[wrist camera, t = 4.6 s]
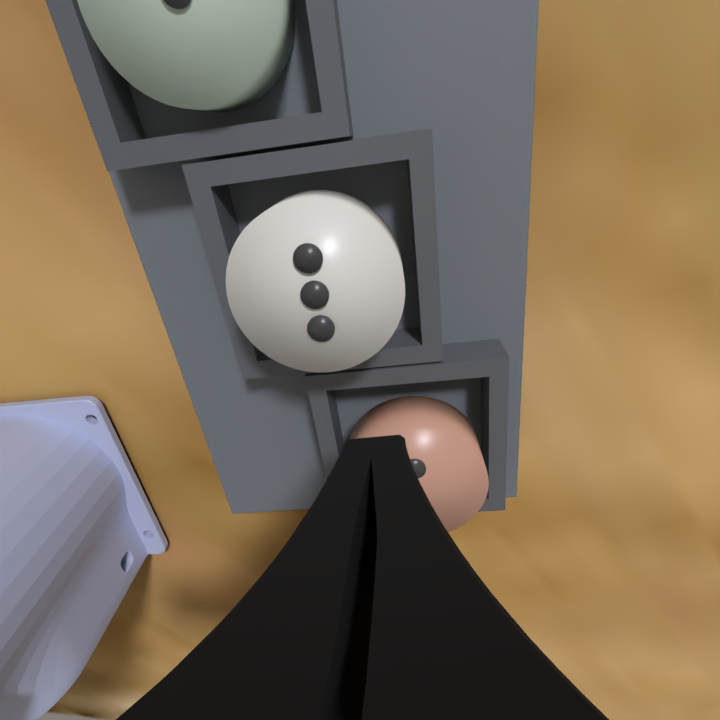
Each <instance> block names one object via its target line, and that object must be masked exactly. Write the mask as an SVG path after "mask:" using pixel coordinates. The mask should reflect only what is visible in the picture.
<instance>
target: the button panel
mask: <svg viewBox="0 0 720 720" xmlns="http://www.w3.org/2000/svg"><path fill="white" fill-rule="evenodd" d="M46 3H47V6H48V9H49V11H50V14H51V17H52V20H53V22H54V25H55V28H56V31H57V33H58V36H59V39H60V42H61V44H62V47H63V50H64V53H65V55H66V58H67V61H68V64H69V67H70V69H71V72H72V75H73V78H74V80H75V83H76V86H77V89H78V91H79V94H80V97H81V100H82V102H83V105H84V108H85V111H86V113H87V116H88V119H89V122H90V124H91V127H92V130H93V133H94V135H95V138H96V141H97V144H98V146H99V149H100V152H101V155H102V157H103V160H104V163H105V166H106V168H107V171H109V173H110V176H111V179H112V182H113V184H114V187H115V190H116V193H117V195H118V198H119V201H120V204H121V207H122V209H123V212H124V215H125V218H126V220H127V223H128V226H129V229H130V231H131V234H132V237H133V240H134V242H135V245H136V248H137V251H138V254H139V256H140V259H141V262H142V265H143V267H144V270H145V273H146V276H147V278H148V281H149V284H150V287H151V289H152V292H153V295H154V298H155V301H156V303H157V306H158V309H159V312H160V314H161V317H162V320H163V323H164V325H165V328H166V331H167V334H168V337H169V339H170V342H171V345H172V348H173V350H174V353H175V356H176V359H177V361H178V364H179V367H180V370H181V372H182V375H183V378H184V381H185V384H186V386H187V389H188V392H189V395H190V397H191V400H192V403H193V406H194V408H195V411H196V414H197V417H198V419H199V422H200V425H201V428H202V431H203V433H204V436H205V439H206V442H207V444H208V447H209V450H210V453H211V455H212V458H213V461H214V464H215V466H216V469H217V472H218V475H219V478H220V480H221V483H222V486H223V489H224V491H225V494H226V497H227V500H228V502H229V505H230V508H231V511H232V514H233V513H250V512H267V511H284V510H301V509H310V507H311V506H312V504H313V502H314V501H315V499H316V497H317V496H318V494H319V492H320V490H321V489H322V487H323V485H324V484H325V482H326V480H327V478H328V476H329V474H330V473H331V471H332V469H333V467H334V465H335V463H336V461H337V459H338V457H339V455H340V453H341V451H342V448H343V446H344V444H345V443H346V441H347V440H348V439H350V435H351V433H352V430H353V428H354V426H355V425H356V423H357V422H358V421H359V419H360V418H361V417H362V416H363V415H364V414H365V413H366V412H367V411H369V410H370V409H372V408H373V407H374V406H376V405H378V404H380V403H382V402H385V401H387V400H390V399H394V398H398V397H405V396H424V397H430V398H435V399H438V400H441V401H444V402H446V403H448V404H450V405H452V406H453V407H455V408H456V409H458V410H459V411H460V412H461V413H463V414H464V415H465V417H466V418H467V419H468V420H469V421H470V423H471V425H472V426H473V428H474V431H475V433H476V436H477V440H478V443H479V446H480V450H481V453H482V456H483V460H484V463H485V466H486V469H487V473H488V479H489V487H488V493H487V497H486V499H485V501H484V503H483V505H482V507H481V508H480V510H479V511H496V510H505V497H516V493H517V471H518V448H519V426H520V404H521V382H522V360H523V338H524V315H525V293H526V271H527V249H528V227H529V205H530V182H531V160H532V138H533V116H534V94H535V72H536V49H537V27H538V5H539V0H295V8H296V24H295V34H294V40H293V45H292V49H291V52H290V55H289V58H288V61H287V64H286V66H285V68H284V70H283V72H282V74H281V75H280V77H279V78H278V80H277V81H276V83H275V84H274V85H273V87H272V88H271V89H270V90H269V91H268V92H267V93H266V94H265V95H264V96H262V97H261V98H260V99H259V100H257V101H256V102H254V103H252V104H251V105H248V106H246V107H244V108H241V109H238V110H233V111H227V112H213V111H202V110H193V109H184V108H179V107H174V106H170V105H167V104H164V103H162V102H159V101H157V100H155V99H153V98H151V97H149V96H147V95H145V94H144V93H142V92H141V91H139V90H138V89H136V88H135V87H134V86H132V85H131V84H130V83H129V82H128V81H127V80H125V79H124V78H123V77H122V76H121V75H120V74H119V73H118V72H117V71H116V69H115V68H114V67H113V66H112V65H111V64H110V63H109V61H108V60H107V59H106V57H105V56H104V55H103V53H102V52H101V50H100V49H99V47H98V46H97V44H96V42H95V41H94V39H93V37H92V35H91V33H90V31H89V29H88V27H87V25H86V23H85V21H84V18H83V16H82V13H81V11H80V8H79V5H78V2H77V0H46ZM309 190H332V191H337V192H341V193H345V194H347V195H350V196H353V197H355V198H357V199H359V200H361V201H362V202H364V203H366V204H367V205H368V206H370V207H371V208H372V209H374V210H375V211H376V212H377V213H378V214H379V215H380V216H381V217H382V218H383V220H384V221H385V222H386V223H387V225H388V226H389V228H390V229H391V231H392V233H393V234H394V237H395V239H396V241H397V243H398V247H399V250H400V253H401V260H402V266H403V273H404V280H405V302H404V308H403V312H402V316H401V319H400V321H399V324H398V326H397V328H396V330H395V332H394V333H393V335H392V337H391V338H390V339H389V341H388V342H387V343H386V344H385V346H383V347H382V348H381V349H380V350H379V351H378V352H377V353H376V354H375V355H373V356H372V357H371V358H369V359H368V360H366V361H364V362H362V363H361V364H358V365H356V366H354V367H351V368H348V369H344V370H341V371H335V372H322V373H317V372H307V371H302V370H297V369H294V368H291V367H288V366H285V365H283V364H281V363H279V362H276V361H275V360H273V359H271V358H270V357H268V356H267V355H265V354H264V353H263V352H261V351H260V350H259V349H258V348H256V347H255V346H254V345H253V344H252V343H251V342H250V341H249V339H248V338H247V337H246V336H245V335H244V333H243V332H242V330H241V329H240V327H239V326H238V324H237V322H236V320H235V318H234V316H233V314H232V311H231V309H230V306H229V302H228V298H227V293H226V268H227V263H228V259H229V256H230V253H231V250H232V248H233V246H234V244H235V242H236V240H237V238H238V237H239V235H240V234H241V233H242V231H243V230H244V228H245V227H246V226H247V225H248V224H249V223H250V222H251V221H252V220H254V219H255V218H256V217H258V216H259V215H260V214H262V213H263V212H264V211H266V210H267V209H269V208H270V207H272V206H273V205H275V204H276V203H278V202H279V201H281V200H283V199H285V198H286V197H288V196H291V195H293V194H296V193H299V192H304V191H309ZM479 511H478V512H479Z"/></svg>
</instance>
